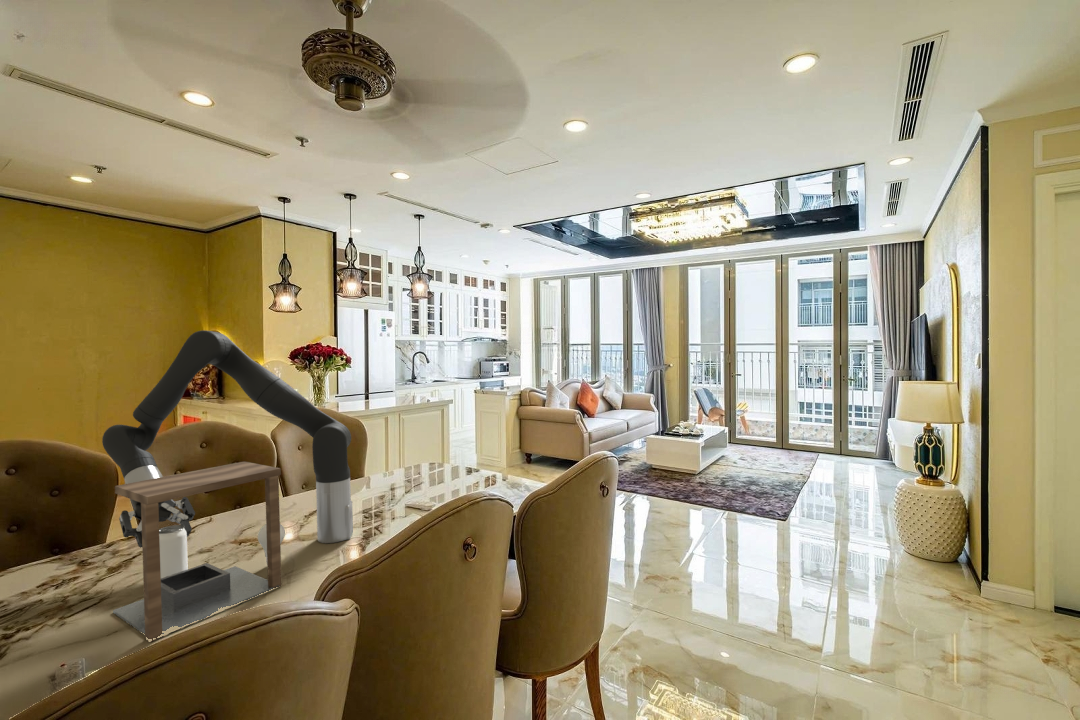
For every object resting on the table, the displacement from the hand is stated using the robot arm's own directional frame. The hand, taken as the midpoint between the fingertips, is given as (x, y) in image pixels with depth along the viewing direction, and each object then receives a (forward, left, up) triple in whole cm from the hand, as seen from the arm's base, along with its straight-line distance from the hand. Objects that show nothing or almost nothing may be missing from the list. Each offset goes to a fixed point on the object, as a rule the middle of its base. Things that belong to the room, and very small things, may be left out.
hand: (167, 540), depth 117 cm
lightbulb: (-23, 0, -9) cm, 25 cm away
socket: (-13, +15, -9) cm, 22 cm away
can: (-1, +1, -9) cm, 9 cm away
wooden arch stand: (-15, +17, -9) cm, 25 cm away
